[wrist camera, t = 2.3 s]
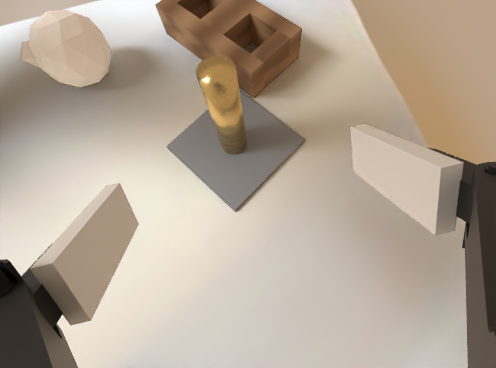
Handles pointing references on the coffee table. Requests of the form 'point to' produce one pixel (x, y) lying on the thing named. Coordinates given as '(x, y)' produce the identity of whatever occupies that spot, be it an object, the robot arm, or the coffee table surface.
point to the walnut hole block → (235, 36)
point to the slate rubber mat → (241, 165)
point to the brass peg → (223, 101)
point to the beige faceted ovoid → (68, 48)
